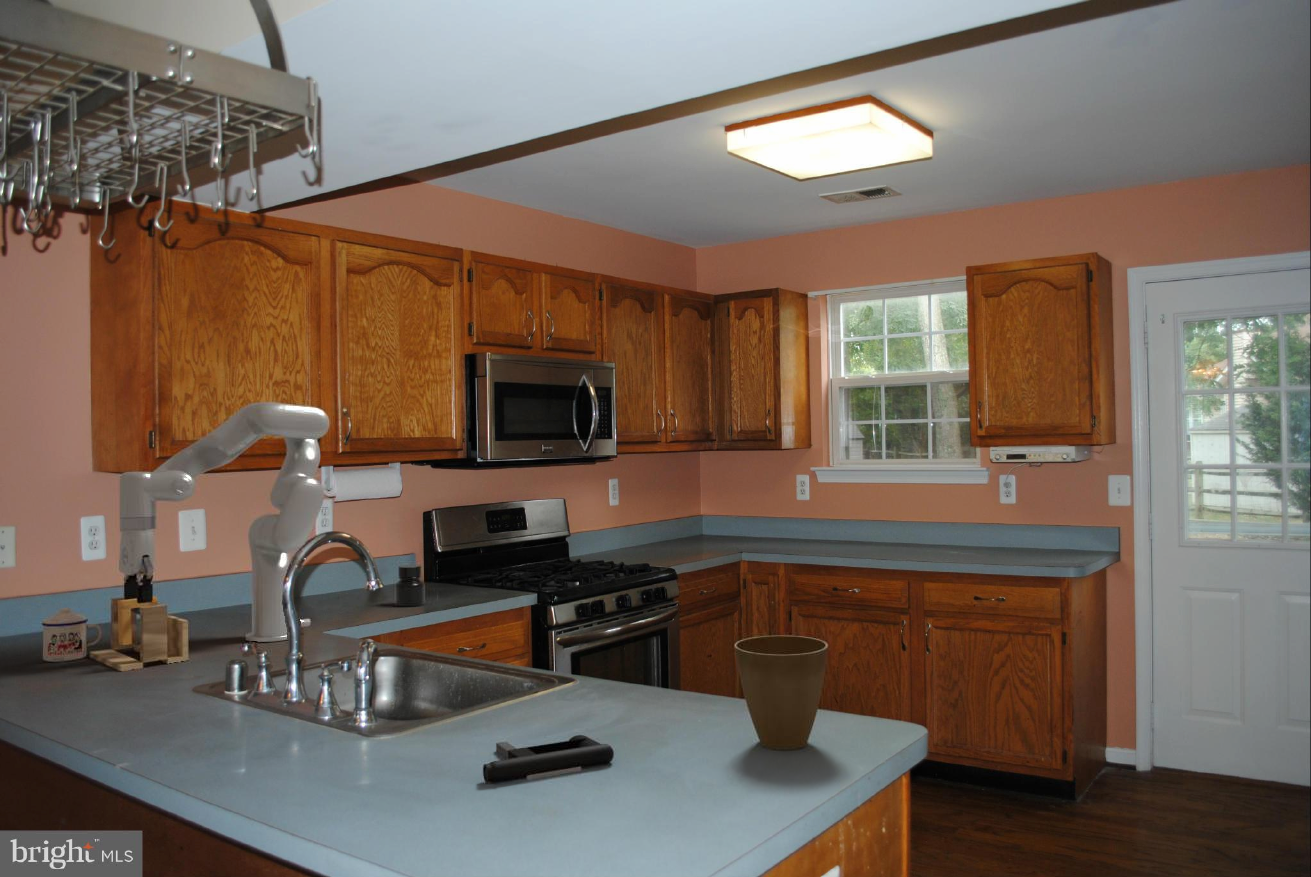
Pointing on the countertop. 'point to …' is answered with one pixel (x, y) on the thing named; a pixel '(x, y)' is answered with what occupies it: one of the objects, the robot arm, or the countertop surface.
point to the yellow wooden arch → (129, 617)
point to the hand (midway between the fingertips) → (138, 600)
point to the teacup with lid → (66, 636)
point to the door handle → (546, 759)
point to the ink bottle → (409, 587)
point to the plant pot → (782, 686)
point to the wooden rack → (146, 638)
